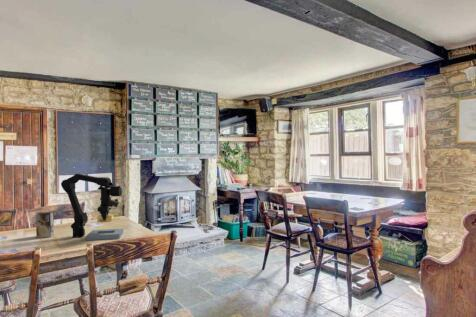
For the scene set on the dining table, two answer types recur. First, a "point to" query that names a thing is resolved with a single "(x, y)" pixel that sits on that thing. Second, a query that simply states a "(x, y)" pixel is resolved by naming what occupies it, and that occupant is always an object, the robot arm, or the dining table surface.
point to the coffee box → (44, 224)
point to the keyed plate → (104, 234)
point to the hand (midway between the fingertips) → (105, 219)
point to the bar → (108, 218)
